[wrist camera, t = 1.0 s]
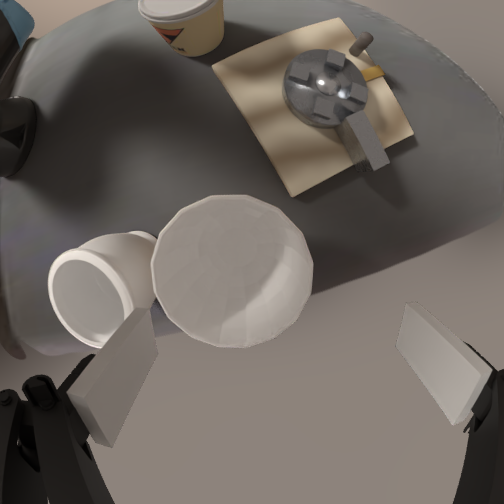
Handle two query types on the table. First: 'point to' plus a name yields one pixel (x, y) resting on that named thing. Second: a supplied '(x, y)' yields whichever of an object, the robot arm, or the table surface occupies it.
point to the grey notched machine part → (334, 103)
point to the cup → (232, 271)
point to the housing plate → (282, 119)
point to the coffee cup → (186, 23)
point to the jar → (102, 284)
